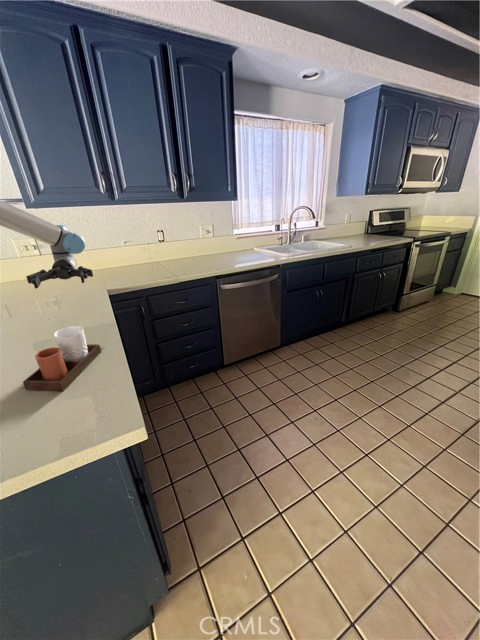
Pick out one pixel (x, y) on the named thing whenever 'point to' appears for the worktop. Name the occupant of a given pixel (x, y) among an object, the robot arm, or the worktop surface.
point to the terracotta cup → (51, 364)
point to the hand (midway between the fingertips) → (59, 281)
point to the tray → (74, 370)
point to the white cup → (71, 343)
